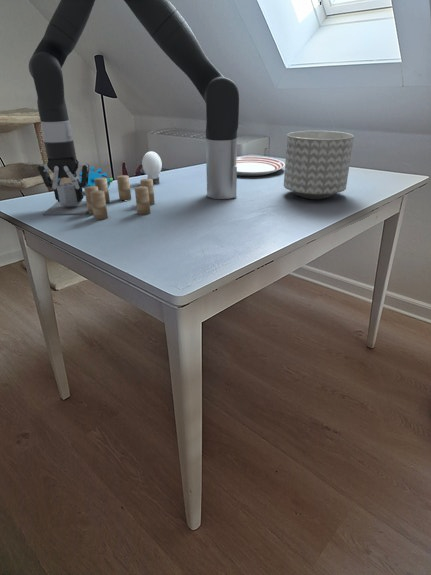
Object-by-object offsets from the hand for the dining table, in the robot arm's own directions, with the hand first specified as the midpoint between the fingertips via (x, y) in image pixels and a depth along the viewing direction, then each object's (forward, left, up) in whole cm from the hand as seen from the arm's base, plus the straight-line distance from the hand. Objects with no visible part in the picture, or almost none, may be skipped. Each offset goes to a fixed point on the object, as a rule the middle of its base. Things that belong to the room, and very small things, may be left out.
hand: (70, 201), depth 113 cm
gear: (-3, -19, -2) cm, 19 cm away
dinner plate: (-56, -49, -3) cm, 74 cm away
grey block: (0, 0, -1) cm, 1 cm away
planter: (-73, -11, -2) cm, 74 cm away
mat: (0, 0, -2) cm, 2 cm away
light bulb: (-20, -29, -2) cm, 35 cm away
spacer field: (-15, 0, -2) cm, 15 cm away
